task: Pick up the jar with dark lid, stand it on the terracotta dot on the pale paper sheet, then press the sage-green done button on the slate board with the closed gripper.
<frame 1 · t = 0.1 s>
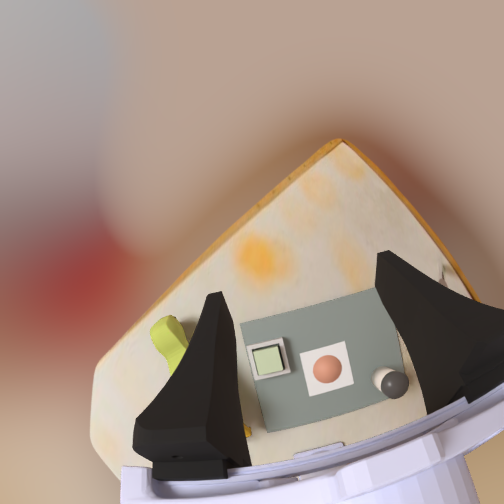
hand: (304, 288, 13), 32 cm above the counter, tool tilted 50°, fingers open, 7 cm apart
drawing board: (328, 361, 42), on the counter
toy: (207, 376, 43), on the counter
done button: (268, 359, 40), point 3 cm above the counter, slide at 0.0 cm
jar with dark lid: (381, 377, 40), resting on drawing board
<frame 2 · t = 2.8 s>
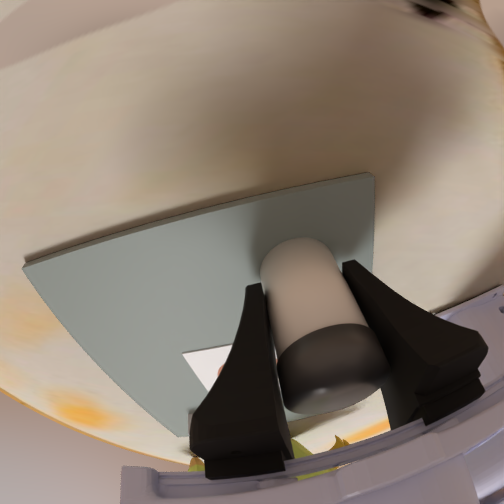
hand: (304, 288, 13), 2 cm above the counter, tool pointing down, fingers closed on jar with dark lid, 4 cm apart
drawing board: (233, 364, 19), on the counter
toy: (256, 441, 30), on the counter
jar with dark lid: (297, 269, 14), resting on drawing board, touching gripper
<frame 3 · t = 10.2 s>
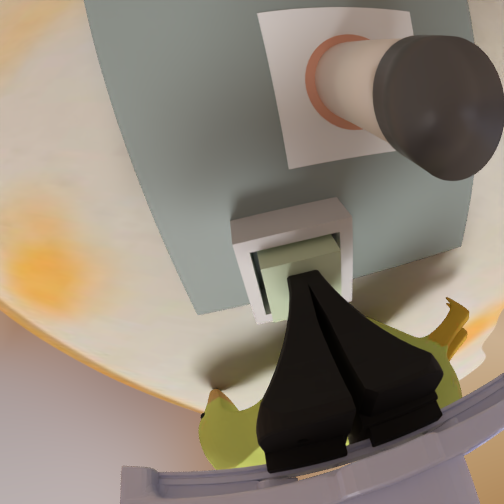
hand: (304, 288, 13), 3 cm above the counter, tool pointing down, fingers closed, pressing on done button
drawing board: (326, 72, 11), on the counter
toy: (316, 346, 22), on the counter
done button: (298, 272, 14), point 2 cm above the counter, slide at 0.6 cm, touching gripper
jar with dark lid: (355, 81, 11), point 1 cm above the counter, touching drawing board
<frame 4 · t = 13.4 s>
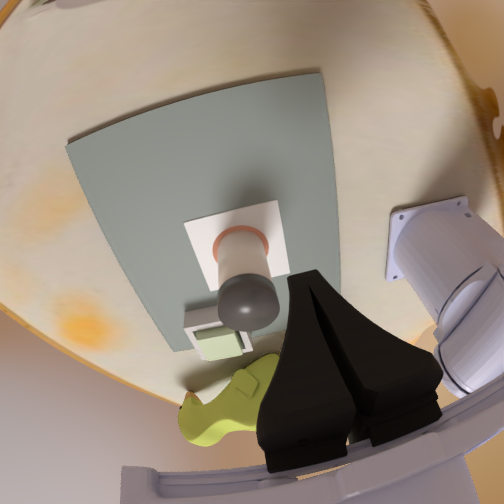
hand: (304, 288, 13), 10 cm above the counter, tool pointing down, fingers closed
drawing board: (226, 243, 24), on the counter
toy: (250, 368, 35), on the counter
done button: (219, 337, 27), point 2 cm above the counter, slide at 0.6 cm
jar with dark lid: (240, 249, 23), point 1 cm above the counter, touching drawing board
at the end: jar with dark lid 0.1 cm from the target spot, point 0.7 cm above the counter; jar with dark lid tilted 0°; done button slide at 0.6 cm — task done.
